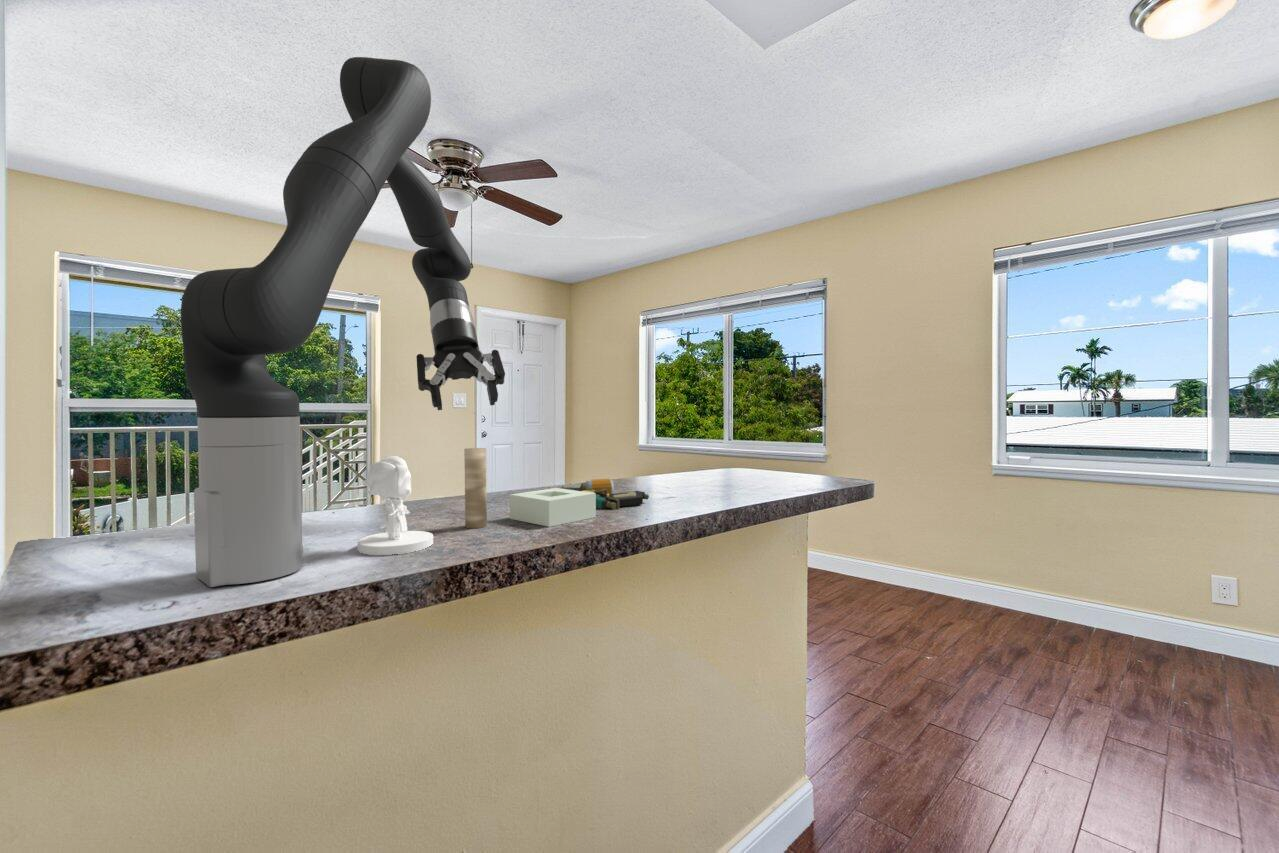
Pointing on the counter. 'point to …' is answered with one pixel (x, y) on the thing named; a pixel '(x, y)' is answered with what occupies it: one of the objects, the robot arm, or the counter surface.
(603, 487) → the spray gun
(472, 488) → the peg
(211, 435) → the robot arm
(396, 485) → the figurine
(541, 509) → the socket block
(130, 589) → the counter surface
